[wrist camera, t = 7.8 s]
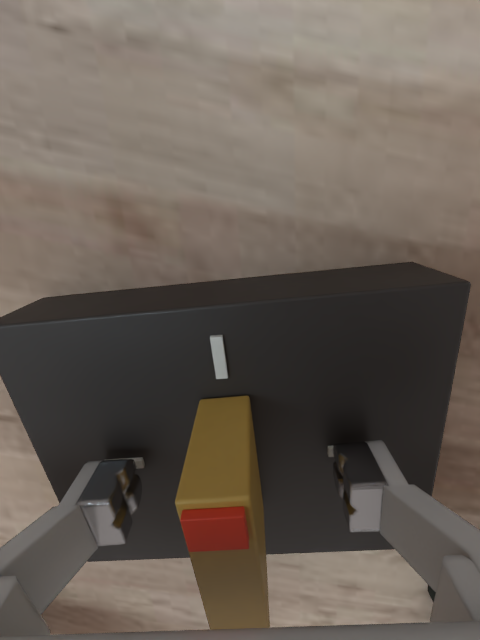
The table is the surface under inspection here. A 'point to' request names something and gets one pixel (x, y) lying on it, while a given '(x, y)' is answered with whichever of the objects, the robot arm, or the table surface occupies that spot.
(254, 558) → the lock turn
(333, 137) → the table surface
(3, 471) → the table surface
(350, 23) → the table surface
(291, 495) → the plate
